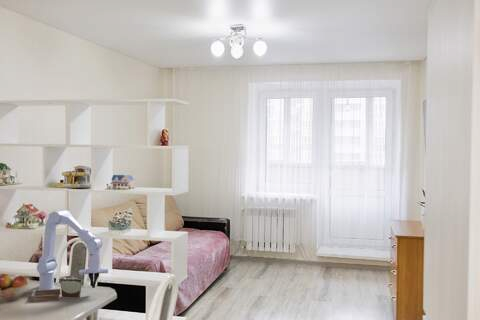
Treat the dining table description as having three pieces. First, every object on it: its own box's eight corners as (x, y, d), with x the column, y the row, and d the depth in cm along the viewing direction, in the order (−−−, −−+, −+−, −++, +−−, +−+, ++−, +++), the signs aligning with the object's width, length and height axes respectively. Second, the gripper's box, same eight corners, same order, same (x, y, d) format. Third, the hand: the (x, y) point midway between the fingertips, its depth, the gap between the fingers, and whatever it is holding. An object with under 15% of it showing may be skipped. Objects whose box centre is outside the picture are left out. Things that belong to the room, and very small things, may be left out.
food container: (86, 294, 248) (87, 276, 248) (81, 298, 242) (82, 279, 241) (64, 293, 249) (64, 274, 249) (58, 297, 243) (59, 277, 243)
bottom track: (33, 295, 245) (33, 289, 244) (60, 293, 249) (60, 287, 249) (31, 301, 234) (31, 295, 234) (59, 300, 238) (59, 294, 238)
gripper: (79, 264, 242) (78, 290, 242) (108, 262, 246) (108, 288, 247) (79, 260, 249) (79, 286, 249) (108, 259, 253) (107, 284, 253)
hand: (93, 287), depth 248 cm, fingers closed
